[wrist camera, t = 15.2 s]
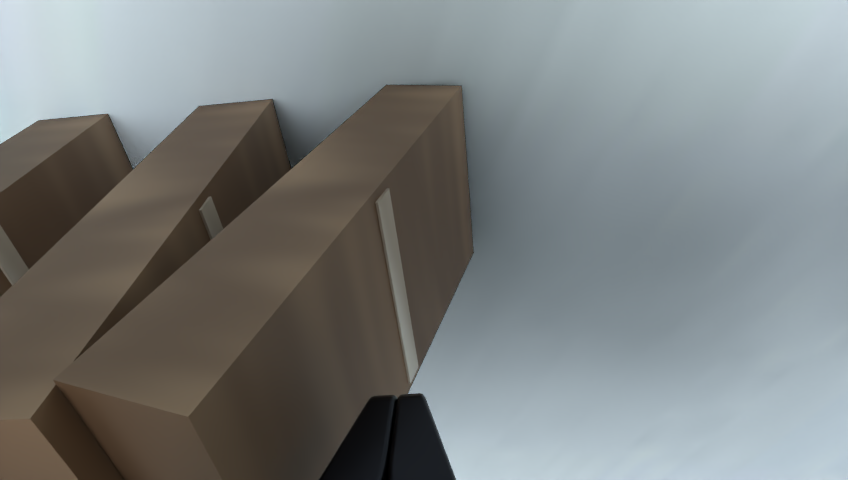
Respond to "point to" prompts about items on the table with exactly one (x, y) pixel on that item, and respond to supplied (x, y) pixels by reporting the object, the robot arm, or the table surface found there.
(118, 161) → the tile
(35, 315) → the tile
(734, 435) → the table surface
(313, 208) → the tile
